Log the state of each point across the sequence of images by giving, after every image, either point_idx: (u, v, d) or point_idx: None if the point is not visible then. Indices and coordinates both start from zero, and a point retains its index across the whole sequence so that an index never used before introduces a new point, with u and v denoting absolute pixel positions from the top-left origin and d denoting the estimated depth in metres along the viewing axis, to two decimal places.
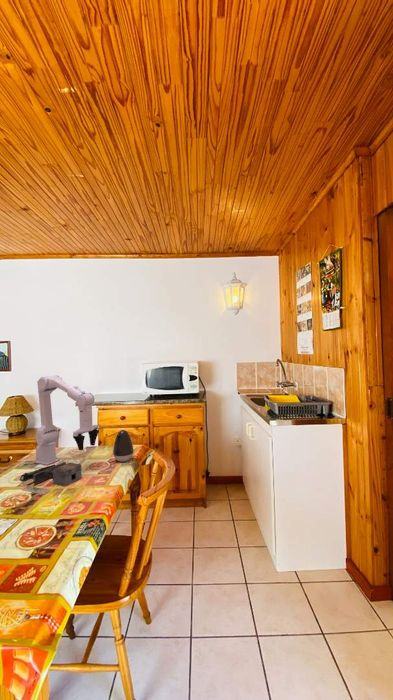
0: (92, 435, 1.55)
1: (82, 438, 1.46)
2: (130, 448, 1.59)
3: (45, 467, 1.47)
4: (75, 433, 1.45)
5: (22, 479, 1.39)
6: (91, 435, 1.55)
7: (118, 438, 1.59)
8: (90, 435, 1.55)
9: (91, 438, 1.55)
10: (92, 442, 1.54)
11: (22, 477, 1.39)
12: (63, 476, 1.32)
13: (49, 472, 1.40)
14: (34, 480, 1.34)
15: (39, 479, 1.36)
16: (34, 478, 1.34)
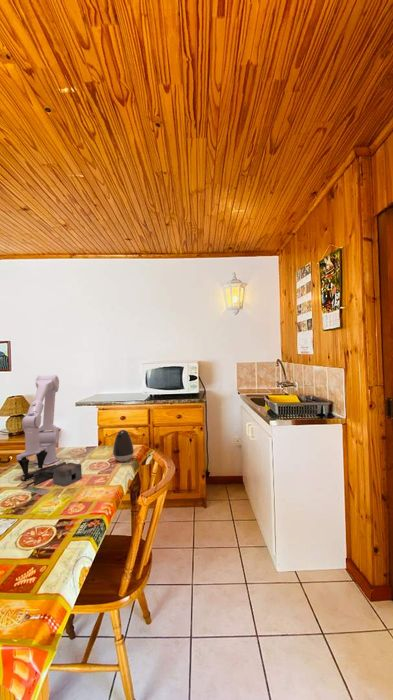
0: (40, 457, 1.49)
1: (26, 462, 1.41)
2: (130, 448, 1.59)
3: (46, 467, 1.47)
4: (18, 457, 1.39)
5: (23, 479, 1.38)
6: (39, 457, 1.50)
7: (118, 438, 1.59)
8: (38, 457, 1.50)
9: (39, 460, 1.50)
10: (40, 465, 1.49)
11: (23, 477, 1.39)
12: (63, 476, 1.32)
13: (49, 472, 1.40)
14: (34, 480, 1.34)
15: (39, 479, 1.36)
16: (34, 478, 1.34)
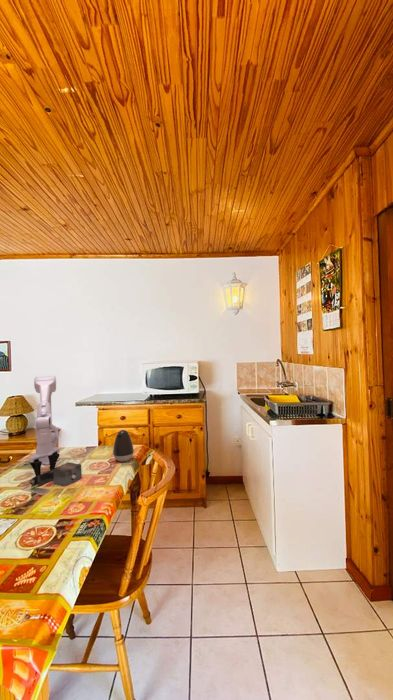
0: (52, 459, 1.46)
1: (38, 464, 1.37)
2: (130, 448, 1.59)
3: None
4: (31, 459, 1.36)
5: (33, 483, 1.34)
6: (51, 459, 1.46)
7: (118, 438, 1.59)
8: (50, 459, 1.47)
9: (51, 462, 1.46)
10: (52, 467, 1.46)
11: (33, 480, 1.35)
12: (63, 476, 1.32)
13: None
14: (38, 481, 1.33)
15: (44, 480, 1.35)
16: (38, 479, 1.33)
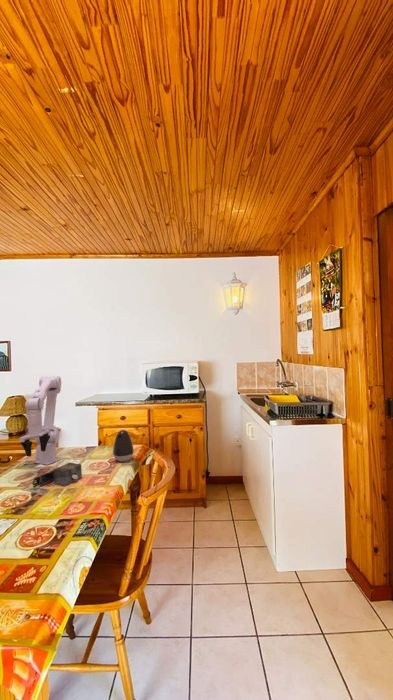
0: (43, 440, 1.50)
1: (29, 444, 1.41)
2: (130, 448, 1.59)
3: None
4: (21, 439, 1.40)
5: (35, 483, 1.34)
6: (42, 440, 1.50)
7: (118, 438, 1.59)
8: (41, 440, 1.50)
9: (42, 443, 1.50)
10: (43, 448, 1.50)
11: (35, 481, 1.34)
12: (63, 476, 1.32)
13: None
14: (40, 481, 1.32)
15: (46, 480, 1.34)
16: (40, 480, 1.32)
